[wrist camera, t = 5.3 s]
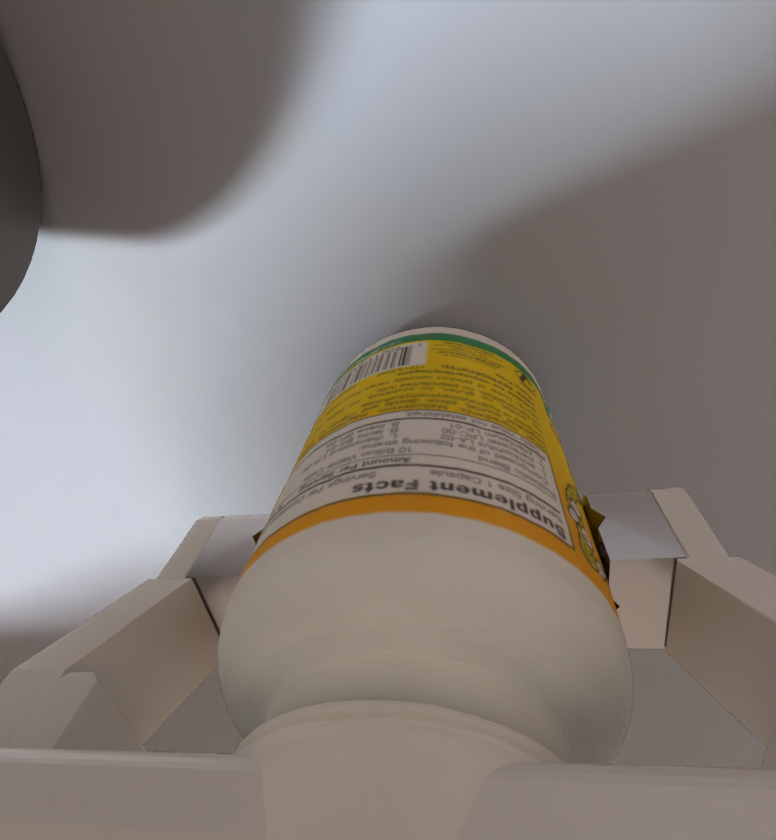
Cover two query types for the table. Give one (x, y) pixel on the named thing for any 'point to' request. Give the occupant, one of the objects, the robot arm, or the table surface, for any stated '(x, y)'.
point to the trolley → (16, 187)
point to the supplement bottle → (422, 601)
